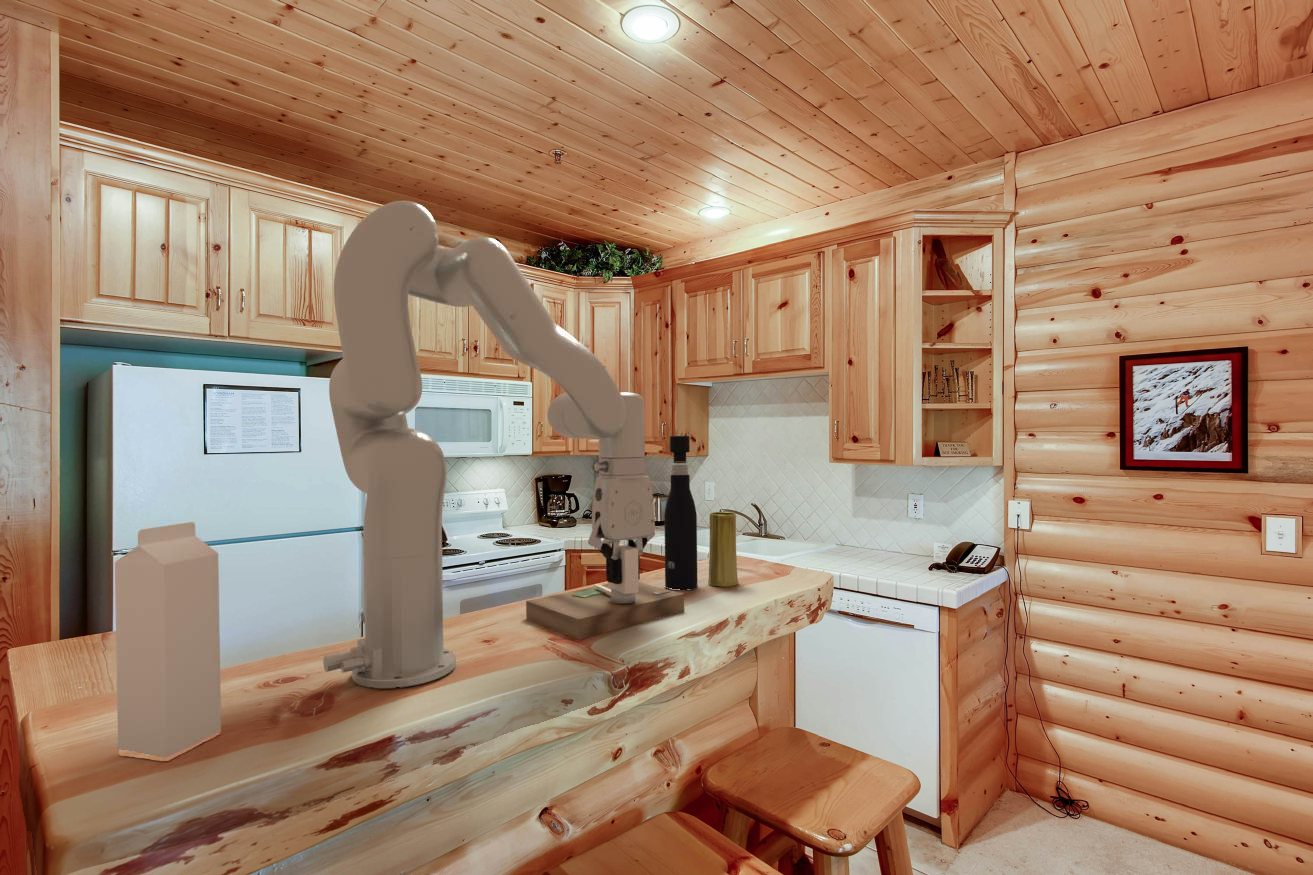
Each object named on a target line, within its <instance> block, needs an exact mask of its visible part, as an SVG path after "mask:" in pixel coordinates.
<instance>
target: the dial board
mask: <svg viewBox="0 0 1313 875" xmlns="http://www.w3.org/2000/svg"><path fill="white" fill-rule="evenodd" d="M638 583H639V592H636V593H635V601H634V602H632V603H625V604H619V603H613V602H611V595H610V594H608V593H605V592H603V591H601V590H599V589H596V588H594V586H593V587H587V588H586V587H585V588H582V589H576V590H572V591H568V592H563V593H559V594H553V595H549V596H548V595H547V596H543V597H539V598H538V597H537V598H534V599H529V600H528V599H527V600H526V601H525V608H526V609H525V610H526V612H525V613H526V620H528V621H531V622H533V623H534V624H535V623H536V624H538V625H540V626H541V625H542V626H543V627H546V628H549V629H551V630H554V631H556V632H559V633H562V634H564V635H567V636H569V637H572V638H575V639H576V640H582V639H586V638H589V637H590V638H591V637H593V636H598V635H601V634H604V633H605V634H606V633H608V632H612V631H616V630H620V629H624V628H627V627H630V625H631V626H635V625H638V624H641V622H642V623H644V622H645V621H646V622H649V620H650V621H653V620H657V619H660V618H659V617H661V618H664V617H663V616H665V617H668V616H670V614H672V615H675V614H674V613H676V614H678V613H677V612H679V613H683V612H685V593H682V592H679V591H676V590H670V589H667V588H666V589H665V588H663V587H657V586H654V585H652V584H651V585H650V584H646V583H642V582H639V581H638ZM600 585H601V586H604V587H606V588H608V589H612V588H610V587H608V583H606V584H600ZM682 611H683V612H682ZM667 615H668V616H667ZM656 618H657V619H656ZM652 619H653V620H652ZM646 622H645V623H646ZM637 623H638V624H637ZM634 624H635V625H634ZM626 626H627V627H626ZM623 627H624V628H623ZM619 628H620V629H619Z"/></svg>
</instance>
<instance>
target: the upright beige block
mask: <svg viewBox="0 0 1313 875" xmlns="http://www.w3.org/2000/svg"><path fill="white" fill-rule="evenodd" d="M611 547H612V543H611ZM618 559H621V561H622V583H621V584H614V583H610V582H608V581H607V584H608V587H610V588H612V589H608V588H606V587H604V586H601V585H602V584H599V583H597V584H596V583H595V584H594V585H593V587H594V588H596V589H599V590H601V591H603V592H605V593H608V594H610V595H611V602H613V603H619V604H625V603H632V602H634V601H635V593H636V592H639V583H640V582H639V580H638V548H634V547H631V546H627V544H624V543H621V542H620V544H619V557H618ZM638 582H639V583H638Z"/></svg>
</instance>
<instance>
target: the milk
mask: <svg viewBox="0 0 1313 875" xmlns="http://www.w3.org/2000/svg"><path fill="white" fill-rule="evenodd" d="M219 578H220V577H219V553H218V551H217V550H215V549H213V548H212V547H211V546H209V545H208V544H207V543H205V542H204V541H203V540H202V539H201V538H199V537H197V535H196V523H195V522H193V521H191V522H190V521H189V522H183V523H176V524H169V525H161V526H156V527H149V528H143V529H142V528H141V529H139V530H138V532H137V546H136V547H134V548H133V549H131V550H130V551H128V552H127V553H125V555H122V556H121V557H120V558H118V559H117V560H116V561H115V562H114V581H115V582H114V585H115V586H114V591H115V592H114V594H115V595H114V597H115V602H114V603H115V644H116V645H115V648H116V649H115V650H116V651H115V652H116V653H115V654H116V655H115V656H116V658H115V659H116V703H117V705H116V710H117V711H116V713H117V714H116V715H117V716H116V717H117V749H118V748H119V749H121V750H129V751H135V752H138V753H144V754H149V755H154V756H158V757H164V758H166V757H169V756H171V755H173V754H175V753H177V752H180V751H181V750H184V749H187V748H189V747H191V746H193V745H195V744H197V743H199V742H201V741H202V740H204V739H206V738H208V737H210V736H212V735H215V734H216V733H219V732H221V733H222V715H221V714H222V710H221V708H222V706H221V704H222V703H221V702H222V701H221V697H222V696H221V693H222V692H221V646H220V645H221V642H220V641H221V639H220V637H221V635H220V634H221V633H220V595H219V594H220V588H219V587H220V579H219Z"/></svg>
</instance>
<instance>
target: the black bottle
mask: <svg viewBox="0 0 1313 875" xmlns="http://www.w3.org/2000/svg"><path fill="white" fill-rule="evenodd" d="M669 452H670V453H673V461H672V463H673V465H672V467H671V473H672V474H671V475H670V490H669V493H668V496H667V500H666V503H665V508H664V518H663V519H664V581H665V582H664V586H666V587H668V588H672V589H680V590H686V591H688V590H687V589H693V590H695V589H694V588H696V587H697V588H698V522H697V521H698V515H697V509H696V505H695V501H694V497H693V494H692V492H691V488H690V487H691V486H690V484H691V483H690V482H691V481H690V480H691V479H690V478H691V477H690V474H688V473H689V471H688V469H689V466H688V465H687V462H688V461H687V453H690V435H670V436H669ZM676 464H677V465H676ZM685 464H686V465H685ZM666 587H665V588H666ZM697 588H696V589H697Z"/></svg>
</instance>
